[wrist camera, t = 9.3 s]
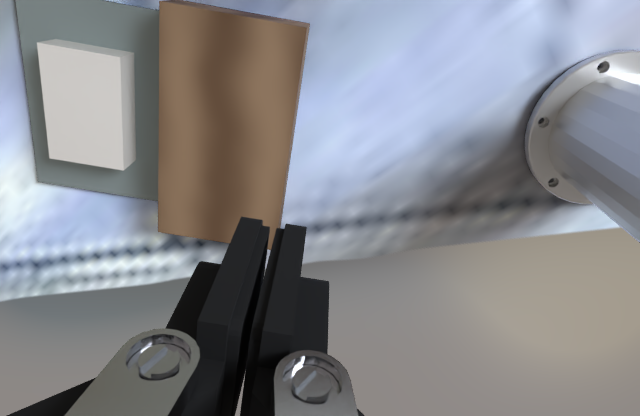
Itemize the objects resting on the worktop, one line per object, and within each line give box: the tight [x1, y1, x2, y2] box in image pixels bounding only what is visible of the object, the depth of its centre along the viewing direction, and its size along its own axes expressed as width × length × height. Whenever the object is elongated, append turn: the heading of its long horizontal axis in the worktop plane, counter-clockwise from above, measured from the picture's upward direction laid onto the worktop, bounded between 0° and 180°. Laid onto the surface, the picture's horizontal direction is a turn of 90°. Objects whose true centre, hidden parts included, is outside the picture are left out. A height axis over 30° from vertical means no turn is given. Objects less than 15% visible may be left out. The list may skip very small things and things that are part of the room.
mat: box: [15, 0, 159, 201], centre depth 37 cm, size 12×16×1 cm
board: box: [158, 0, 310, 250], centre depth 36 cm, size 10×18×4 cm, turn 170°
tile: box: [37, 39, 136, 171], centre depth 36 cm, size 6×9×2 cm, turn 170°
